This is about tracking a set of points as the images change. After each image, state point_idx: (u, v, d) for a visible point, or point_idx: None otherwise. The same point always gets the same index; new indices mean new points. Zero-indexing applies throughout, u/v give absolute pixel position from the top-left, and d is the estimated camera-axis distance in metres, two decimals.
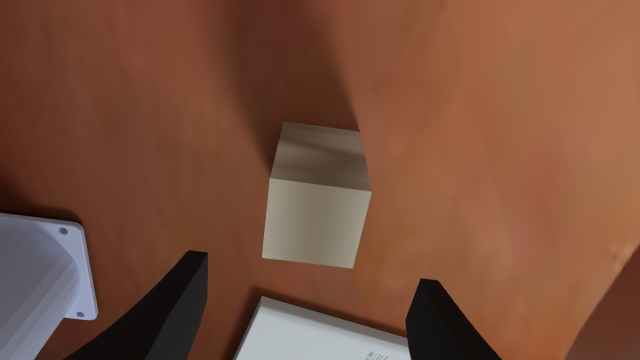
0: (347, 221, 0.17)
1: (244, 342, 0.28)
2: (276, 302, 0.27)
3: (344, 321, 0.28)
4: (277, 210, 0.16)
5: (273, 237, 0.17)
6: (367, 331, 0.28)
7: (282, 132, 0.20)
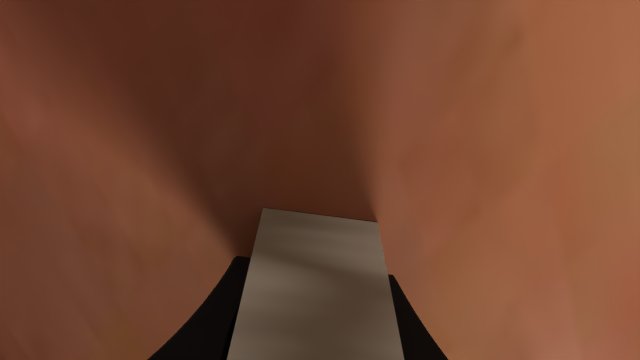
0: None
1: None
2: None
3: None
4: None
5: None
6: None
7: (259, 234, 0.13)
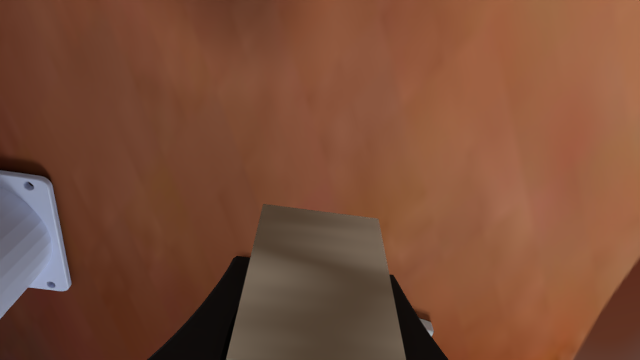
0: None
1: None
2: None
3: None
4: None
5: None
6: None
7: (259, 230, 0.13)
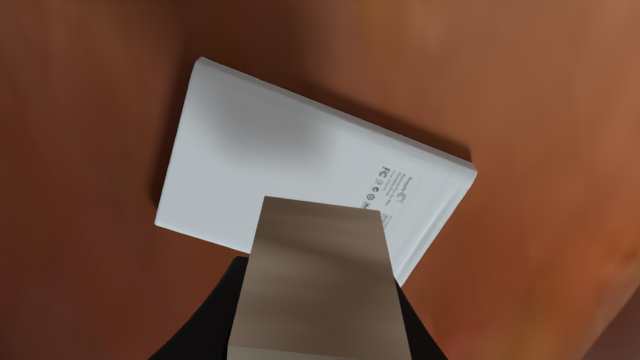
0: None
1: (175, 145, 0.17)
2: (226, 67, 0.16)
3: (341, 112, 0.17)
4: None
5: None
6: (379, 129, 0.17)
7: (260, 221, 0.12)
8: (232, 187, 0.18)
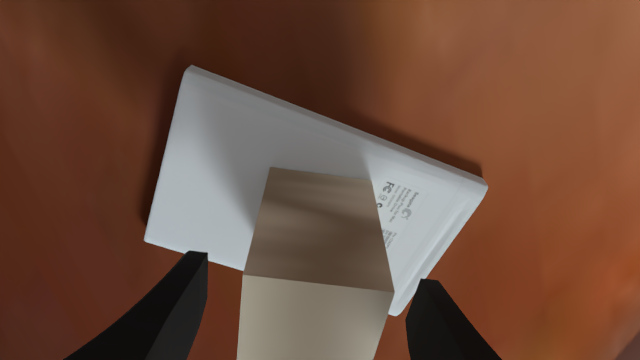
0: (358, 329, 0.11)
1: (164, 159, 0.16)
2: (218, 75, 0.15)
3: (342, 123, 0.16)
4: (256, 315, 0.11)
5: (251, 349, 0.12)
6: (382, 142, 0.16)
7: (267, 186, 0.14)
8: (225, 203, 0.17)
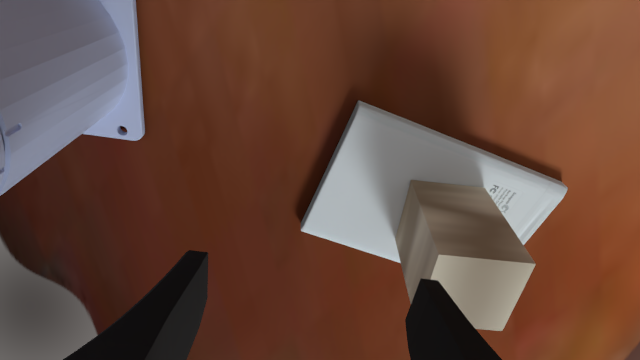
0: (506, 290, 0.17)
1: (331, 168, 0.21)
2: (377, 108, 0.20)
3: None
4: (440, 281, 0.17)
5: None
6: (492, 155, 0.21)
7: (418, 194, 0.20)
8: (370, 201, 0.22)
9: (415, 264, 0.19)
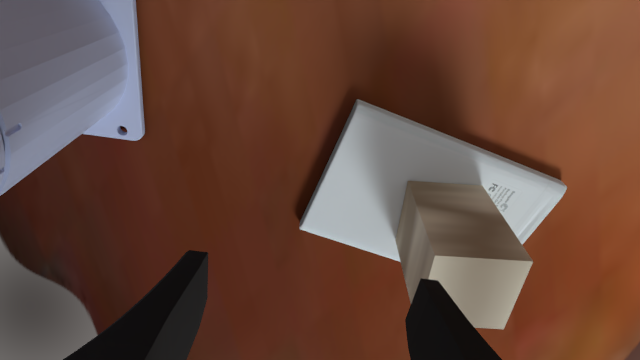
0: (505, 288, 0.17)
1: (330, 167, 0.21)
2: (376, 106, 0.20)
3: (461, 140, 0.21)
4: None
5: None
6: (490, 154, 0.21)
7: (414, 195, 0.20)
8: (369, 199, 0.22)
9: (414, 265, 0.19)
